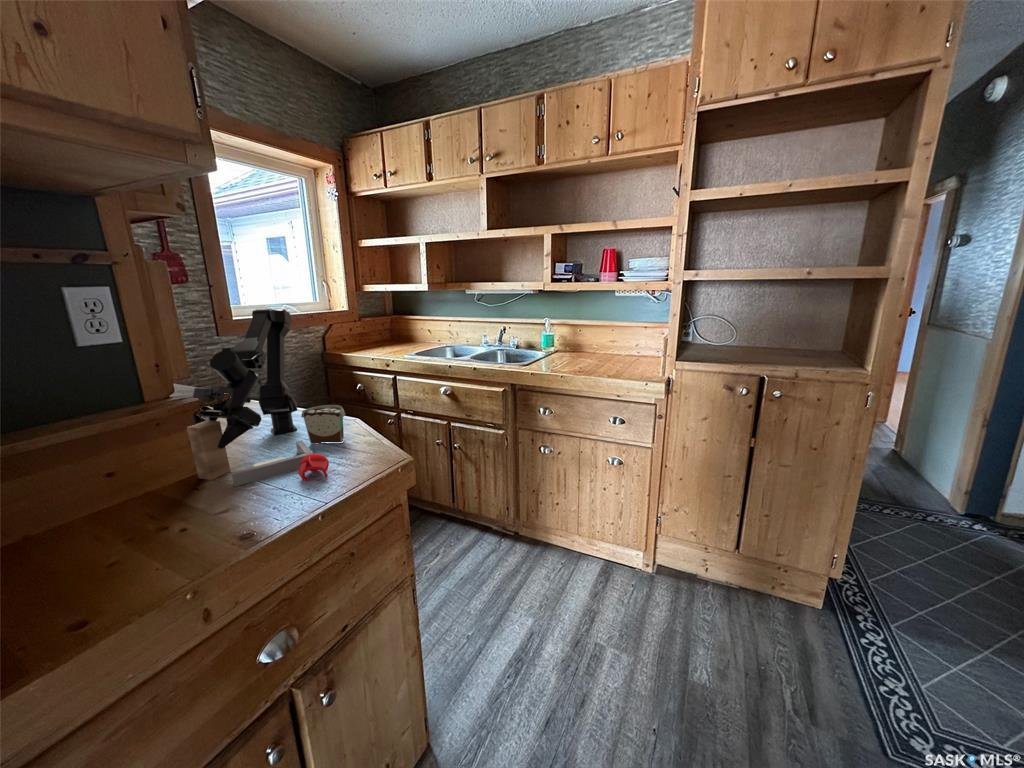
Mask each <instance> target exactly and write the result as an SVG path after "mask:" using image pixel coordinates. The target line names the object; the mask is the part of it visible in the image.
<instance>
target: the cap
mask: <svg viewBox="0 0 1024 768" xmlns="http://www.w3.org/2000/svg"><path fill="white" fill-rule="evenodd" d="M300 465H301V466H300V467H299V469H297V470H298V476H299V477H300V479H302V481H305V482H309V480H310V479H309V477H308V476H306V473H307V472H318V471H321V472H322V474H323V476H324V477H325V478H328V472H327V471H328V470H329V465H330V462H329V459H328V458H327V457H326V456H325V455H322V454H320V453H313V454H310V455H307V456H306V457H304V458H303V459H302V461H301V464H300Z"/></svg>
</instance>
